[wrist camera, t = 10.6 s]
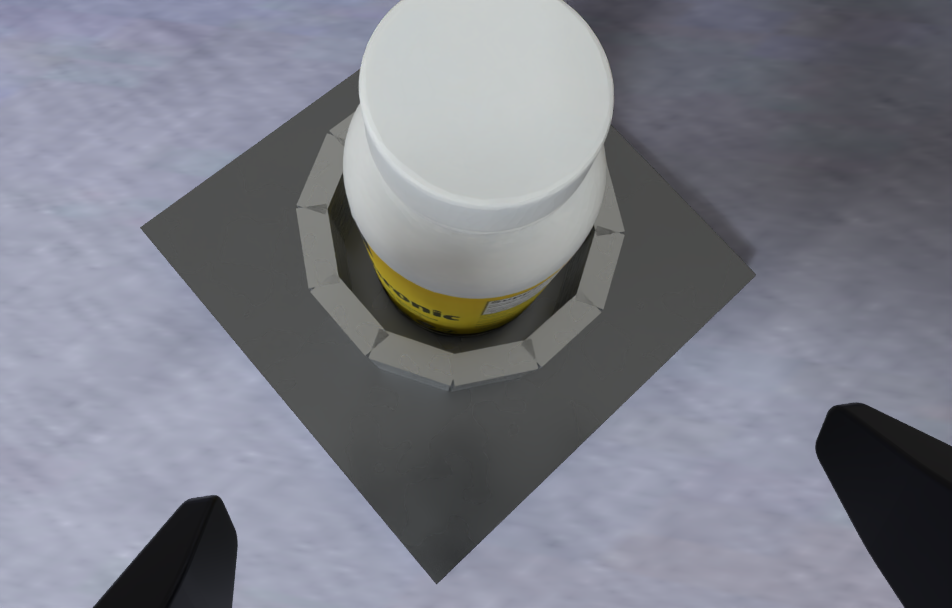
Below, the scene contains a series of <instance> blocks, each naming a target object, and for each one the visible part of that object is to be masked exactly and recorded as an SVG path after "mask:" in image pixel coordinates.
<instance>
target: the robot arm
mask: <svg viewBox="0 0 952 608" xmlns="http://www.w3.org/2000/svg"><path fill="white" fill-rule="evenodd" d="M815 449H816V454H817V457H818V459H819V461H820V463H821V465H822V467H823V469H824V471H825V473H826V475H827V476H828V478H829V480H830V482H831V484H832V486H833V488H834V490H835V492H836V493H837V495H838V497H839V499H840V501H841V503H842V505H843V507H844V508H845V510H846V512H847V514H848V516H849V518H850V520H851V522H852V523H853V525H854V527H855V529H856V531H857V533H858V535H859V536H860V538H861V540H862V542H863V544H864V545H865V547H866V549H867V551H868V552H869V554H870V555H871V557H872V559H873V560H874V562H875V563H876V565H877V567H878V568H879V570H880V571H881V573H882V574H883V576H884V577H885V579H886V580H887V582H888V583H889V585H890V586H891V588H892V589H893V591H894V592H895V594H896V595H897V597H898V598H899V600H900V602H901V603H902V605H903V606H904V608H952V446H950V445H948V444H946V443H944V442H942V441H940V440H938V439H936V438H934V437H932V436H930V435H928V434H925V433H923V432H921V431H919V430H917V429H915V428H913V427H911V426H909V425H907V424H905V423H903V422H901V421H899V420H897V419H895V418H892V417H890V416H888V415H886V414H884V413H882V412H880V411H878V410H876V409H874V408H872V407H870V406H868V405H865V404H863V403H848V404H841V405H836V406H833V407H832V408H831V409H830V410H829V411H828V413H827V415H826V418H825V420H824V423H823V425H822V428H821V430H820V433H819V435H818V438H817V440H816V445H815ZM237 547H238V543H237V534H236V530H235V528H234V526H233V523H232V521H231V519H230V517H229V514H228V512H227V510H226V508H225V505H224V503H223V501H222V499H221V498H220V497H219V496H217V495H211V496H204V497H197V498H191V499H188V500H186V501H185V502H184V503H182V505H181V506H180V507H179V508H178V509H177V510H176V511H175V513H174V514H173V515H172V516H171V517H170V518H169V519H168V521H167V522H166V523H165V524H164V525H163V526H162V528H161V529H160V530H159V531H158V532H157V533H156V535H155V536H154V537H153V538H152V539H151V540H150V542H149V543H148V544H147V545H146V546H145V547H144V549H143V550H142V551H141V552H140V553H139V554H138V556H137V557H136V558H135V559H134V560H133V561H132V563H131V564H130V565H129V566H128V567H127V568H126V569H125V571H124V572H123V573H122V574H121V575H120V576H119V578H118V579H117V580H116V581H115V582H114V583H113V585H112V586H111V587H110V588H109V589H108V590H107V592H106V593H105V594H104V595H103V596H102V597H101V599H100V600H99V601H98V602H97V603H96V604H95V606H94V607H93V608H232V602H233V591H234V580H235V570H236V559H237Z"/></svg>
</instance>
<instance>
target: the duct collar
mask: <svg viewBox="0 0 952 608" xmlns="http://www.w3.org/2000/svg"><path fill="white" fill-rule="evenodd" d="M359 74H360V69H359V70H358V71H357V72H355V73H354V74H352V75H351V76H350V77H348V78H347V79H345V80H344V81H343V82H341V83H340V84H339V85H337V86H336V87H334V88H333V89H332V90H330V91H329V92H327V93H326V94H325V95H323V96H322V97H321V98H319V99H318V100H316V101H315V102H314V103H312V104H311V105H309V106H308V107H307V108H305V109H304V110H302V111H301V112H300V113H298V114H297V115H296V116H294V117H293V118H291V119H290V120H289V121H287V122H286V123H284V124H283V125H282V126H280V127H279V128H278V129H276V130H275V131H273V132H272V133H271V134H269V135H268V136H266V137H265V138H264V139H262V140H261V141H260V142H258V143H257V144H255V145H254V146H253V147H251V148H250V149H248V150H247V151H246V152H244V153H243V154H242V155H240V156H239V157H237V158H236V159H235V160H233V161H232V162H230V163H229V164H228V165H226V166H225V167H224V168H222V169H221V170H219V171H218V172H217V173H215V174H214V175H212V176H211V177H210V178H208V179H207V180H205V181H204V182H203V183H201V184H200V185H199V186H197V187H196V188H194V189H193V190H192V191H190V192H189V193H187V194H186V195H185V196H183V197H182V198H181V199H179V200H178V201H176V202H175V203H174V204H172V205H171V206H169V207H168V208H167V209H165V210H164V211H163V212H161V213H160V214H158V215H157V216H156V217H154V218H153V219H151V220H150V221H149V222H147V223H146V224H145V225H143V226H142V227H140V228H141V229H142V231H143V232H144V233H145V234H146V235H147V237H148V238H149V239H150V240H151V241H152V243H153V244H154V245H155V246H156V247H157V249H158V250H159V251H160V252H161V253H162V255H163V256H164V257H165V258H166V259H167V261H168V262H169V263H170V264H171V265H172V267H173V268H174V269H175V270H176V271H177V273H178V274H179V275H180V276H181V278H182V279H183V280H184V281H185V282H186V284H187V285H188V286H189V287H190V288H191V290H192V291H193V292H194V293H195V294H196V296H197V297H198V298H199V299H200V300H201V302H202V303H203V304H204V305H205V306H206V308H207V309H208V310H209V311H210V312H211V314H212V315H213V316H214V317H215V318H216V320H217V321H218V322H219V323H220V324H221V326H222V327H223V328H224V329H225V330H226V332H227V333H228V334H229V335H230V336H231V338H232V339H233V340H234V341H235V342H236V344H237V345H238V346H239V347H240V348H241V350H242V351H243V352H244V353H245V355H246V356H247V357H248V358H249V359H250V361H251V362H252V363H253V364H254V365H255V367H256V368H257V369H258V370H259V371H260V373H261V374H262V375H263V376H264V377H265V379H266V380H267V381H268V382H269V383H270V385H271V386H272V387H273V388H274V389H275V391H276V392H277V393H278V394H279V395H280V397H281V398H282V399H283V400H284V401H285V403H286V404H287V405H288V406H289V407H290V409H291V410H292V411H293V412H294V413H295V415H296V416H297V417H298V418H299V419H300V421H301V422H302V423H303V424H304V425H305V427H306V428H307V429H308V430H309V432H310V433H311V434H312V435H313V436H314V438H315V439H316V440H317V441H318V442H319V444H320V445H321V446H322V447H323V448H324V450H325V451H326V452H327V453H328V454H329V456H330V457H331V458H332V459H333V460H334V462H335V463H336V464H337V465H338V466H339V468H340V469H341V470H342V471H343V472H344V474H345V475H346V476H347V477H348V478H349V480H350V481H351V482H352V483H353V484H354V486H355V487H356V488H357V489H358V490H359V492H360V493H361V494H362V495H363V496H364V498H365V499H366V500H367V501H368V503H369V504H370V505H371V506H372V507H373V509H374V510H375V511H376V512H377V513H378V515H379V516H380V517H381V518H382V519H383V521H384V522H385V523H386V524H387V525H388V527H389V528H390V529H391V530H392V531H393V533H394V534H395V535H396V536H397V537H398V539H399V540H400V541H401V542H402V543H403V545H404V546H405V547H406V548H407V549H408V551H409V552H410V553H411V554H412V555H413V557H414V558H415V559H416V560H417V561H418V563H419V564H420V565H421V566H422V567H423V569H424V570H425V571H426V572H427V573H428V575H429V576H430V577H431V578H432V580H433V581H434V582H435V583H436V584H437V583H439V582H440V581H441V580H442V579H443V578H444V577H445V576H446V575H447V574H448V573H449V572H450V571H451V570H452V569H453V568H454V567H455V566H456V565H457V564H458V563H459V562H460V561H461V560H462V559H463V558H464V557H465V556H466V555H467V554H468V553H470V552H471V551H472V550H473V549H474V548H475V547H476V546H477V545H478V544H479V543H480V542H481V541H482V540H483V539H484V538H485V537H486V536H487V535H488V534H489V533H490V532H491V531H492V530H493V529H494V528H495V527H496V526H497V525H498V524H499V523H501V522H502V521H503V520H504V519H505V518H506V517H507V516H508V515H509V514H510V513H511V512H512V511H513V510H514V509H515V508H516V507H517V506H518V505H519V504H520V503H521V502H522V501H523V500H524V499H525V498H526V497H527V496H528V495H529V494H530V493H532V492H533V491H534V490H535V489H536V488H537V487H538V486H539V485H540V484H541V483H542V482H543V481H544V480H545V479H546V478H547V477H548V476H549V475H550V474H551V473H552V472H553V471H554V470H555V469H556V468H557V467H558V466H559V465H560V464H561V463H563V462H564V461H565V460H566V459H567V458H568V457H569V456H570V455H571V454H572V453H573V452H574V451H575V450H576V449H577V448H578V447H579V446H580V445H581V444H582V443H583V442H584V441H585V440H586V439H587V438H588V437H589V436H590V435H591V434H592V433H594V432H595V431H596V430H597V429H598V428H599V427H600V426H601V425H602V424H603V423H604V422H605V421H606V420H607V419H608V418H609V417H610V416H611V415H612V414H613V413H614V412H615V411H616V410H617V409H618V408H619V407H620V406H621V405H622V404H623V403H624V402H626V401H627V400H628V399H629V398H630V397H631V396H632V395H633V394H634V393H635V392H636V391H637V390H638V389H639V388H640V387H641V386H642V385H643V384H644V383H645V382H646V381H647V380H648V379H649V378H650V377H651V376H652V375H653V374H654V373H655V372H657V371H658V370H659V369H660V368H661V367H662V366H663V365H664V364H665V363H666V362H667V361H668V360H669V359H670V358H671V357H672V356H673V355H674V354H675V353H676V352H677V351H678V350H679V349H680V348H681V347H682V346H683V345H684V344H685V343H686V342H688V341H689V340H690V339H691V338H692V337H693V336H694V335H695V334H696V333H697V332H698V331H699V330H700V329H701V328H702V327H703V326H704V325H705V324H706V323H707V322H708V321H709V320H710V319H711V318H712V317H713V316H714V315H715V314H716V313H717V312H719V311H720V310H721V309H722V308H723V307H724V306H725V305H726V304H727V303H728V302H729V301H730V300H731V299H732V298H733V297H734V296H735V295H736V294H737V293H738V292H739V291H740V290H741V289H742V288H743V287H744V286H745V285H746V284H747V283H748V282H750V281H751V280H752V279H753V278H754V277H755V276H756V274H755V273H754V272H753V271H752V270H751V269H750V268H749V267H748V266H747V265H746V264H745V263H744V262H743V261H742V260H741V259H740V258H739V256H738V255H737V254H736V253H735V252H734V251H733V250H732V249H731V248H730V247H729V246H728V245H727V244H726V243H725V242H724V241H723V240H722V239H721V238H720V237H719V236H718V235H717V234H716V233H715V232H714V231H713V230H712V229H711V228H710V226H709V225H708V224H707V223H706V222H705V221H704V220H703V219H702V218H701V217H700V216H699V215H698V214H697V213H696V212H695V211H694V210H693V209H692V208H691V207H690V206H689V205H688V204H687V203H686V202H685V201H684V200H683V199H682V198H681V197H680V195H679V194H678V193H677V192H676V191H675V190H674V189H673V188H672V187H671V186H670V185H669V184H668V183H667V182H666V181H665V180H664V179H663V178H662V177H661V176H660V175H659V174H658V173H657V172H656V171H655V170H654V169H653V168H652V167H651V166H650V164H649V163H648V162H647V161H646V160H645V159H644V158H643V157H642V156H641V155H640V154H639V153H638V152H637V151H636V150H635V149H634V148H633V147H632V146H631V145H630V144H629V143H628V142H627V141H626V140H625V139H624V138H623V137H622V136H621V135H620V133H619V132H618V131H617V130H616V129H615V128H614V127H613V126H612V125H611V124H610V128H609V131H608V134H607V137H606V139H605V142H604V148H605V156H606V185H605V191H604V197H603V200H602V204H601V207H600V210H599V213H598V216H597V218H596V220H595V223H594V225H593V227H592V229H591V230H590V232H589V234H588V235H587V237H586V239H585V240H584V242H583V243H582V245H581V246H580V248H579V249H578V250H577V252H576V253H575V254H574V255H573V257H572V258H571V259H570V260H569V261H568V262H567V264H566V265H565V266H564V267H563V268H562V269H561V270H560V271H559V272H558V274H557V275H556V276H555V277H554V278H553V279H552V280H551V282H550V283H549V284H548V285H547V286H546V287H545V288H544V290H543V291H542V292H541V293H540V294H539V295H538V296H537V297H536V299H535V300H534V301H533V302H532V303H531V304H530V305H529V306H528V307H527V309H525V310H524V311H523V312H522V313H521V314H520V315H519V316H518V317H516V318H515V319H514V320H512V321H511V322H509V323H508V324H506V325H505V326H503V327H501V328H498V329H496V330H494V331H491V332H488V333H484V334H480V335H476V336H468V337H455V336H447V335H442V334H438V333H435V332H432V331H429V330H427V329H424V328H422V327H420V326H419V325H417V324H416V323H414V322H412V321H411V320H410V319H408V318H407V317H406V316H404V315H403V314H402V313H401V312H400V311H399V310H398V309H397V308H396V307H395V305H394V304H393V303H392V301H391V300H390V299H389V297H388V296H387V294H386V292H385V291H384V289H383V287H382V285H381V283H380V281H379V278H378V276H377V273H376V271H375V268H374V266H373V263H372V261H371V258H370V256H369V253H368V251H367V248H366V246H365V244H364V241H363V239H362V237H361V235H360V232H359V230H358V227H357V225H356V223H355V221H354V219H353V217H352V214H351V209H350V205H349V202H348V198H347V195H346V190H345V185H344V177H343V154H344V146H345V139H346V136H347V132H348V129H349V126H350V123H351V120H352V117H353V115H354V113H355V111H356V109H357V107H358V106H359V104H360V98H359Z"/></svg>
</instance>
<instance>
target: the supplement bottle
mask: <svg viewBox="0 0 952 608" xmlns="http://www.w3.org/2000/svg"><path fill="white" fill-rule="evenodd" d="M359 98H360V104H359V106H358V107H357V109H356V111H355V113H354V115H353V117H352V120H351V123H350V126H349V129H348V132H347V136H346V139H345V146H344V154H343V177H344V185H345V190H346V195H347V198H348V202H349V205H350V209H351V214H352V217H353V219H354V221H355V223H356V225H357V227H358V230H359V232H360V235H361V237H362V239H363V241H364V244H365V246H366V248H367V251H368V253H369V256H370V258H371V261H372V263H373V266H374V268H375V271H376V273H377V276H378V278H379V281H380V283H381V285H382V287H383V289H384V291H385V292H386V294H387V296H388V297H389V299H390V300H391V301H392V303H393V304H394V305H395V307H396V308H397V309H398V310H399V311H400V312H401V313H402V314H403V315H404V316H406V317H407V318H408V319H410V320H411V321H412V322H414V323H416V324H417V325H419V326H420V327H422V328H424V329H427V330H429V331H432V332H435V333H438V334H442V335H447V336H455V337H468V336H476V335H480V334H484V333H488V332H491V331H494V330H496V329H498V328H501V327H503V326H505V325H506V324H508V323H509V322H511V321H512V320H514V319H515V318H516V317H518V316H519V315H520V314H521V313H522V312H523V311H524V310H525V309H527V307H528V306H529V305H530V304H531V303H532V302H533V301H534V300H535V299H536V297H537V296H538V295H539V294H540V293H541V292H542V291H543V290H544V288H545V287H546V286H547V285H548V284H549V283H550V282H551V280H552V279H553V278H554V277H555V276H556V275H557V274H558V272H559V271H560V270H561V269H562V268H563V267H564V266H565V265H566V264H567V262H568V261H569V260H570V259H571V258H572V257H573V255H574V254H575V253H576V252H577V250H578V249H579V248H580V246H581V245H582V243H583V242H584V240H585V239H586V237H587V235H588V234H589V232H590V230H591V229H592V227H593V225H594V223H595V220H596V218H597V216H598V213H599V210H600V207H601V204H602V200H603V197H604V191H605V185H606V156H605V148H604V142H605V139H606V137H607V134H608V131H609V128H610V124H611V121H612V115H613V106H614V84H613V77H612V72H611V69H610V65H609V62H608V59H607V57H606V54H605V52H604V50H603V47H602V46H601V44H600V42H599V40H598V38H597V37H596V35H595V34H594V32H593V31H592V30H591V28H590V26H589V25H588V24H587V23H586V21H585V20H584V19H583V18H582V17H581V16H580V15H579V14H578V13H577V12H576V11H575V10H574V9H573V8H571V7H570V6H569V5H568V4H567V3H565V2H564V1H563V0H401V1H400V2H399V3H397V4H396V5H395V6H394V7H393V8H392V9H391V10H390V11H389V12H388V13H387V14H386V15H385V16H384V18H383V19H382V20H381V22H380V23H379V24H378V26H377V28H376V29H375V31H374V33H373V34H372V36H371V38H370V40H369V42H368V44H367V47H366V50H365V53H364V56H363V59H362V63H361V68H360V74H359Z"/></svg>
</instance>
